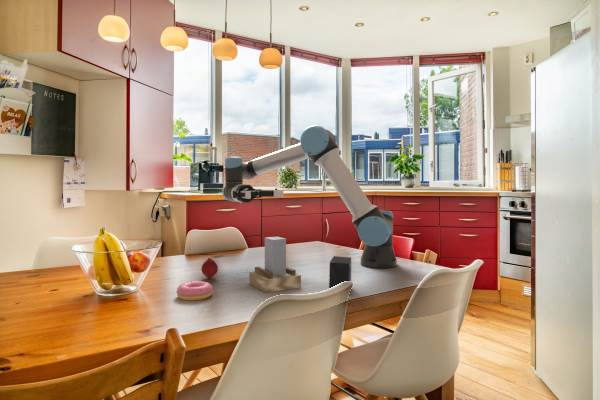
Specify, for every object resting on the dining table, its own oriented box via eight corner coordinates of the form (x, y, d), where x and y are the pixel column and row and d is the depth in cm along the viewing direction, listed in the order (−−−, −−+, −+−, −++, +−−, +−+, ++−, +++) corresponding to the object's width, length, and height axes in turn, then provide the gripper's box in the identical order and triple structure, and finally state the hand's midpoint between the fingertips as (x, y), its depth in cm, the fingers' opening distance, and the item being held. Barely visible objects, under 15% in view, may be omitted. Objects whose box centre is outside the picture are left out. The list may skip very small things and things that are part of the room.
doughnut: (183, 291, 130) (182, 279, 130) (216, 292, 129) (216, 279, 129) (171, 302, 119) (171, 288, 119) (208, 302, 119) (207, 288, 118)
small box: (349, 296, 124) (349, 262, 124) (328, 295, 126) (328, 262, 125) (351, 287, 135) (352, 256, 134) (332, 286, 136) (332, 255, 136)
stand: (282, 278, 146) (282, 263, 146) (300, 287, 135) (301, 270, 135) (249, 283, 139) (249, 267, 139) (266, 292, 128) (266, 274, 128)
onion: (221, 277, 148) (220, 256, 147) (211, 281, 143) (211, 258, 142) (208, 276, 150) (208, 254, 150) (198, 279, 145) (198, 257, 145)
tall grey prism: (277, 270, 140) (277, 236, 140) (285, 273, 135) (285, 238, 135) (264, 272, 138) (264, 237, 137) (272, 275, 133) (272, 239, 132)
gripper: (270, 201, 173) (295, 203, 155) (214, 203, 160) (235, 205, 142) (269, 183, 173) (295, 183, 155) (214, 184, 160) (234, 184, 142)
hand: (266, 194), depth 149 cm, fingers open, 13 cm apart
